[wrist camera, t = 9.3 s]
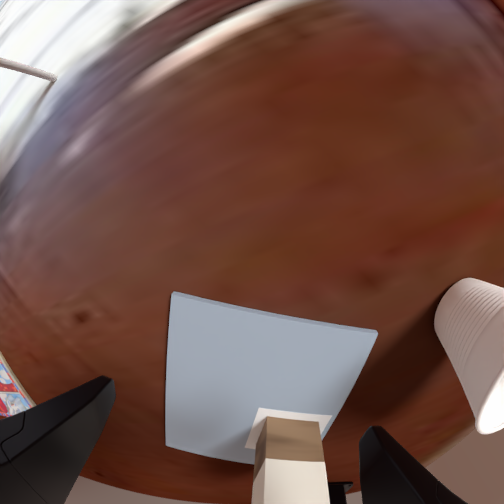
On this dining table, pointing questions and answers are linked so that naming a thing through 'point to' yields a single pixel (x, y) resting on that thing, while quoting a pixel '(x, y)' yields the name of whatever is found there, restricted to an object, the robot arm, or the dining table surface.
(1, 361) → the puzzle board
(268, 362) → the mat
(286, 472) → the cream block
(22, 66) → the lollipop
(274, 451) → the walnut block
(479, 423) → the cup
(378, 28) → the dining table surface
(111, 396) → the robot arm
